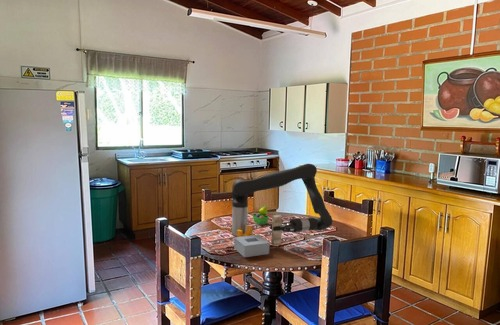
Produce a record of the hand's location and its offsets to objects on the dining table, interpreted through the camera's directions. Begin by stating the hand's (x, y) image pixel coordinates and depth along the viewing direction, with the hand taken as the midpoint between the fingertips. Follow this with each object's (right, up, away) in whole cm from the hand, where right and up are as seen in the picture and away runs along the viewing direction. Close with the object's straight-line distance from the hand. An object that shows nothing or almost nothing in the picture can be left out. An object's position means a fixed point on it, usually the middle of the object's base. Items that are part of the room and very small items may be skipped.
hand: (272, 227), depth 192 cm
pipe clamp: (-14, -10, +15) cm, 23 cm away
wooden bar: (+2, -9, +2) cm, 10 cm away
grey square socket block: (-11, -12, -4) cm, 16 cm away
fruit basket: (-4, -6, +50) cm, 51 cm away
